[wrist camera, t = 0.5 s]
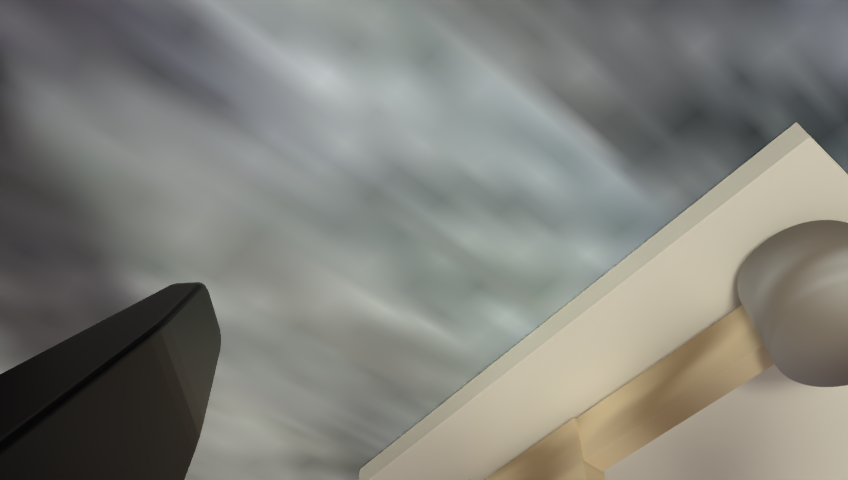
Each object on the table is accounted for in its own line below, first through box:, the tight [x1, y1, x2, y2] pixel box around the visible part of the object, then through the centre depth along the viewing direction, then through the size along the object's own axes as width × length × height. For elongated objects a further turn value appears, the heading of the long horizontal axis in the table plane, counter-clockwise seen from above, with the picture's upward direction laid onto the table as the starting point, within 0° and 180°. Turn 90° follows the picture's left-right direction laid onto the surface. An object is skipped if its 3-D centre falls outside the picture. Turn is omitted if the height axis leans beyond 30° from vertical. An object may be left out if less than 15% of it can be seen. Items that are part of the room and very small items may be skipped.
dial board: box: [359, 122, 848, 480], centre depth 30 cm, size 23×22×1 cm
